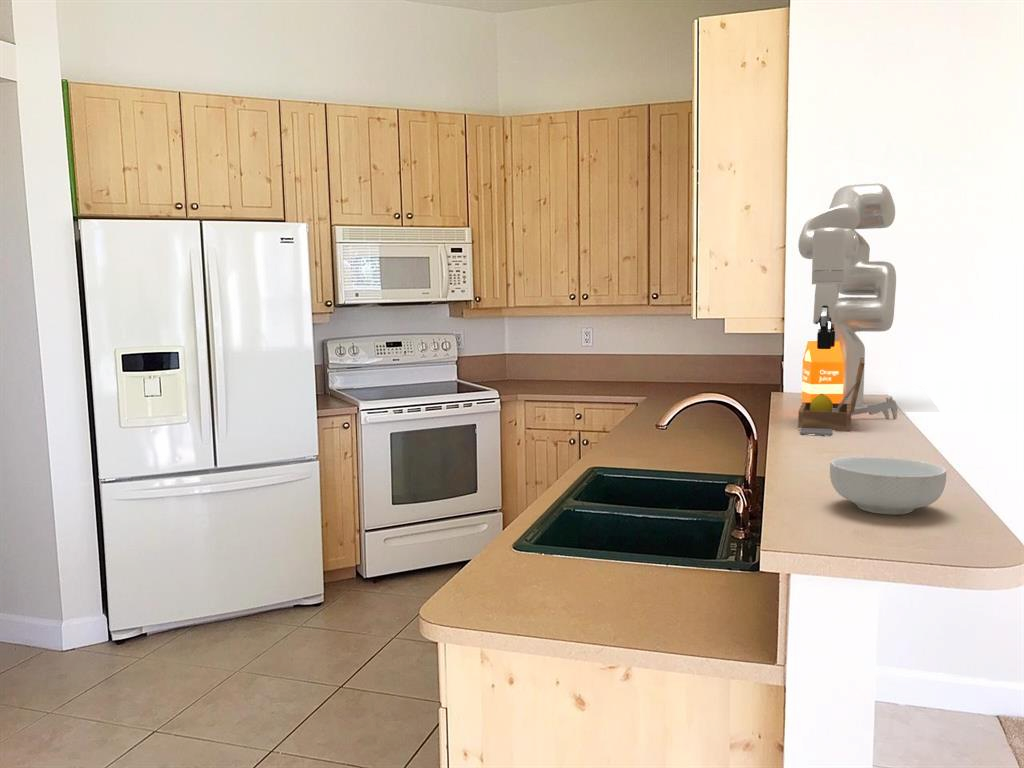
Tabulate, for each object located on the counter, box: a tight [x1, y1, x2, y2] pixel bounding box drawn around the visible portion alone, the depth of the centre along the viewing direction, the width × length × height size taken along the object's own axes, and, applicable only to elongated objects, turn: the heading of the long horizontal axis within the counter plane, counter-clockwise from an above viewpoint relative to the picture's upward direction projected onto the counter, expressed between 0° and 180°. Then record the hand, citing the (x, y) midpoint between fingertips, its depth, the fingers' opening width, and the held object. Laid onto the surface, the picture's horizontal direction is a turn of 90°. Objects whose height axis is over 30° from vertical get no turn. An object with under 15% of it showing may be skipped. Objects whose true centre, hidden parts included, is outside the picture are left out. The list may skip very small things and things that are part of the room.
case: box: [797, 358, 866, 432], centre depth 222 cm, size 18×15×17 cm
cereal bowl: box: [829, 455, 947, 516], centre depth 138 cm, size 17×17×7 cm
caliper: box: [851, 395, 898, 420], centre depth 232 cm, size 20×1×6 cm, turn 87°
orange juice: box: [801, 340, 844, 403], centre depth 242 cm, size 8×9×20 cm
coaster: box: [799, 428, 833, 437], centre depth 211 cm, size 7×7×1 cm
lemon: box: [810, 393, 833, 412], centre depth 223 cm, size 6×6×8 cm
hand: (825, 347), depth 219 cm, fingers open, 9 cm apart
